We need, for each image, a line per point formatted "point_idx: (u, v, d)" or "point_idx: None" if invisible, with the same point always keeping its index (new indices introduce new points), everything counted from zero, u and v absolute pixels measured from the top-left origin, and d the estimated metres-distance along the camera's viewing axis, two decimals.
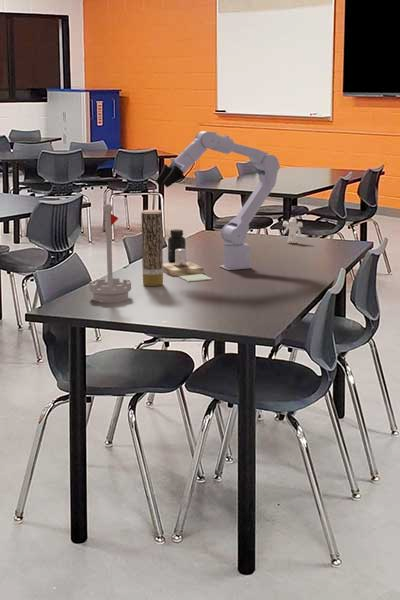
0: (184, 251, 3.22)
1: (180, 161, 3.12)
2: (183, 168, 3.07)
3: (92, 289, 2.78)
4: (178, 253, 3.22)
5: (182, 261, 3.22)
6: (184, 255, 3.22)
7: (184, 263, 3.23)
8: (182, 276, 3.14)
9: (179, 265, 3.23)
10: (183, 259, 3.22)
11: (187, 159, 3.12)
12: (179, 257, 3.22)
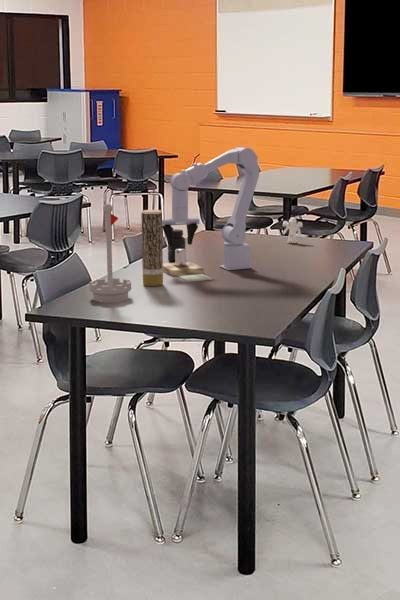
0: (184, 251, 3.22)
1: None
2: None
3: (92, 289, 2.78)
4: (178, 253, 3.22)
5: (182, 261, 3.22)
6: (184, 255, 3.22)
7: (184, 263, 3.23)
8: (182, 276, 3.14)
9: (179, 265, 3.23)
10: (183, 259, 3.22)
11: (172, 211, 3.19)
12: (179, 257, 3.22)
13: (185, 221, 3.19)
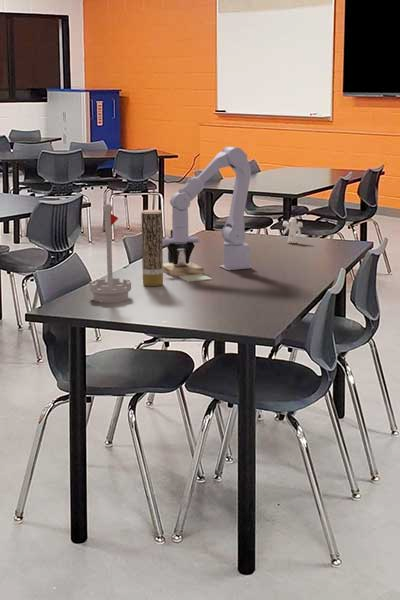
0: (184, 251, 3.22)
1: None
2: None
3: (92, 289, 2.78)
4: (178, 253, 3.22)
5: (182, 261, 3.22)
6: (184, 255, 3.22)
7: (184, 263, 3.23)
8: (182, 276, 3.14)
9: (179, 265, 3.23)
10: (183, 259, 3.22)
11: None
12: (179, 257, 3.22)
13: (185, 240, 3.20)
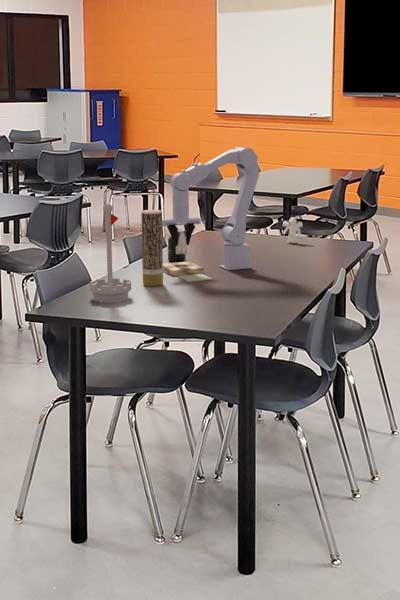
0: (184, 232, 3.20)
1: None
2: None
3: (92, 289, 2.78)
4: (178, 234, 3.20)
5: (183, 243, 3.20)
6: (184, 237, 3.20)
7: (184, 245, 3.21)
8: (182, 276, 3.14)
9: (179, 247, 3.20)
10: (184, 241, 3.20)
11: (173, 211, 3.19)
12: (179, 239, 3.20)
13: (186, 221, 3.18)
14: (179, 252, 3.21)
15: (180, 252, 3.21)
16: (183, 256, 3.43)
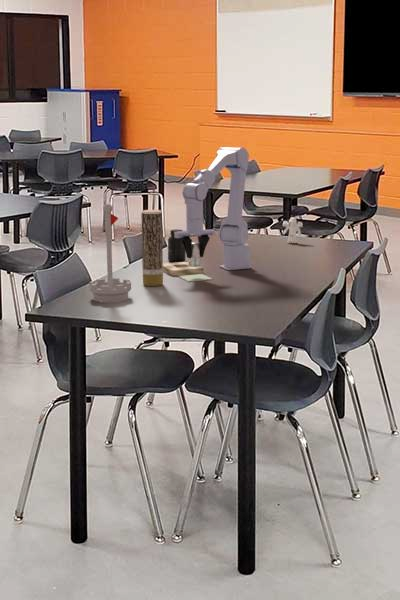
0: (198, 244, 3.09)
1: None
2: (174, 235, 3.07)
3: (92, 289, 2.78)
4: (192, 247, 3.08)
5: (196, 255, 3.09)
6: (198, 249, 3.09)
7: (198, 257, 3.10)
8: (182, 276, 3.14)
9: (193, 259, 3.09)
10: (197, 253, 3.09)
11: None
12: (193, 251, 3.09)
13: (200, 233, 3.06)
14: (193, 265, 3.10)
15: (194, 265, 3.10)
16: (183, 256, 3.43)
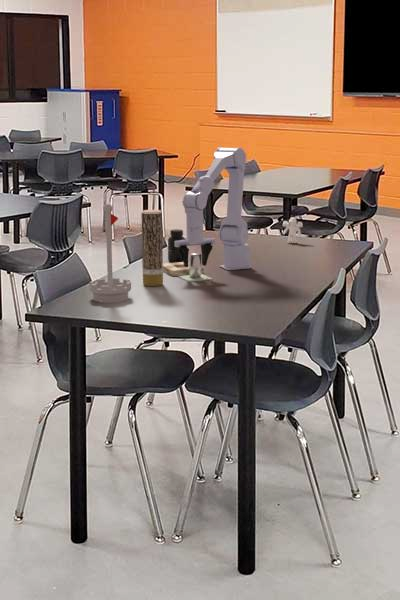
0: (199, 256, 3.10)
1: None
2: None
3: (92, 289, 2.78)
4: (193, 258, 3.09)
5: (197, 266, 3.10)
6: (199, 260, 3.10)
7: (199, 268, 3.10)
8: (182, 276, 3.14)
9: (193, 270, 3.10)
10: (198, 264, 3.10)
11: None
12: (194, 262, 3.09)
13: (200, 241, 3.07)
14: (193, 276, 3.11)
15: (194, 276, 3.10)
16: None
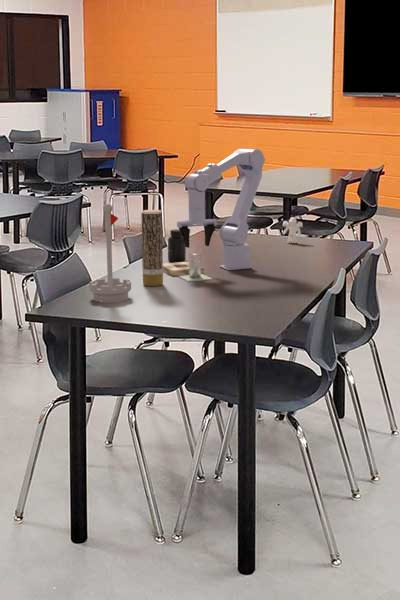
0: (198, 256, 3.10)
1: None
2: (177, 224, 3.15)
3: (92, 289, 2.78)
4: (192, 258, 3.09)
5: (197, 266, 3.10)
6: (198, 260, 3.10)
7: (198, 268, 3.10)
8: (182, 276, 3.14)
9: (193, 270, 3.10)
10: (198, 264, 3.10)
11: (189, 212, 3.15)
12: (193, 262, 3.09)
13: (202, 222, 3.14)
14: (193, 276, 3.11)
15: (194, 276, 3.10)
16: (183, 256, 3.43)
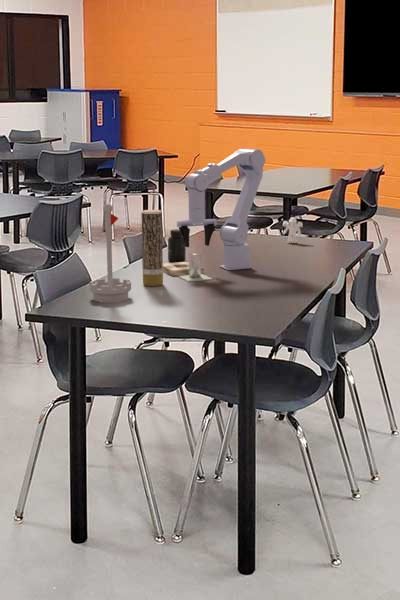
0: (198, 256, 3.10)
1: None
2: (177, 224, 3.15)
3: (92, 289, 2.78)
4: (192, 258, 3.09)
5: (197, 266, 3.10)
6: (198, 260, 3.10)
7: (198, 268, 3.10)
8: (182, 276, 3.14)
9: (193, 270, 3.10)
10: (198, 264, 3.10)
11: None
12: (193, 262, 3.09)
13: (202, 222, 3.15)
14: (193, 276, 3.11)
15: (194, 276, 3.10)
16: (183, 256, 3.43)
